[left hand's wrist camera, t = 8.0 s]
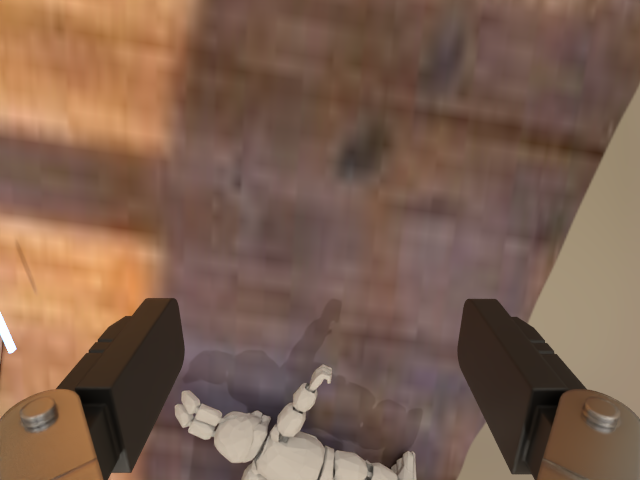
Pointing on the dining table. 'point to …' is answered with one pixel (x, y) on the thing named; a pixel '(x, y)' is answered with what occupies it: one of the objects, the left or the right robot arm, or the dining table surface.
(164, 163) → the dining table surface
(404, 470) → the toy
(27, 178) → the dining table surface
